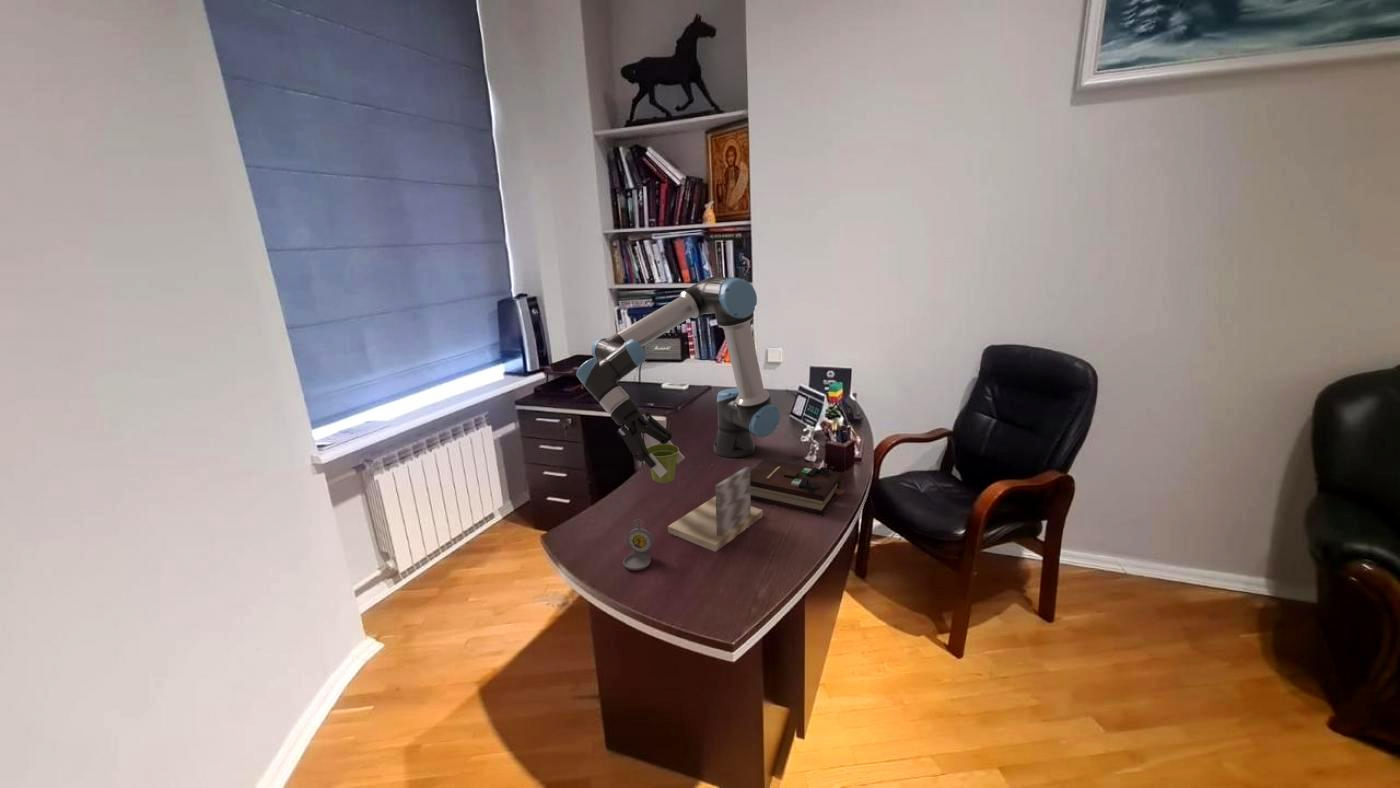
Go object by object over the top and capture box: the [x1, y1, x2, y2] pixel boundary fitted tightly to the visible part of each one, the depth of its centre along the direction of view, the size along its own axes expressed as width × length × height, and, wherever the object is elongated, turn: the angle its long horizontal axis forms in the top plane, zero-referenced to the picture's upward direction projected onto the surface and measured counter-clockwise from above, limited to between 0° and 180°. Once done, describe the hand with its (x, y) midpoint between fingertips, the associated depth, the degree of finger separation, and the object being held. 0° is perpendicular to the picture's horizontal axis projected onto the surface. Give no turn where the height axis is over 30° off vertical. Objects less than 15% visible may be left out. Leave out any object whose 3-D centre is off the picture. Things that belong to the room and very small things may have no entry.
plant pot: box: [646, 443, 680, 484], centre depth 150 cm, size 9×9×9 cm
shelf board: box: [667, 466, 764, 553], centre depth 147 cm, size 22×16×16 cm
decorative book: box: [750, 458, 846, 517], centre depth 164 cm, size 19×8×30 cm
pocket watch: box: [622, 518, 654, 571], centre depth 133 cm, size 8×8×10 cm
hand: (672, 467), depth 149 cm, fingers closed on plant pot, 9 cm apart
